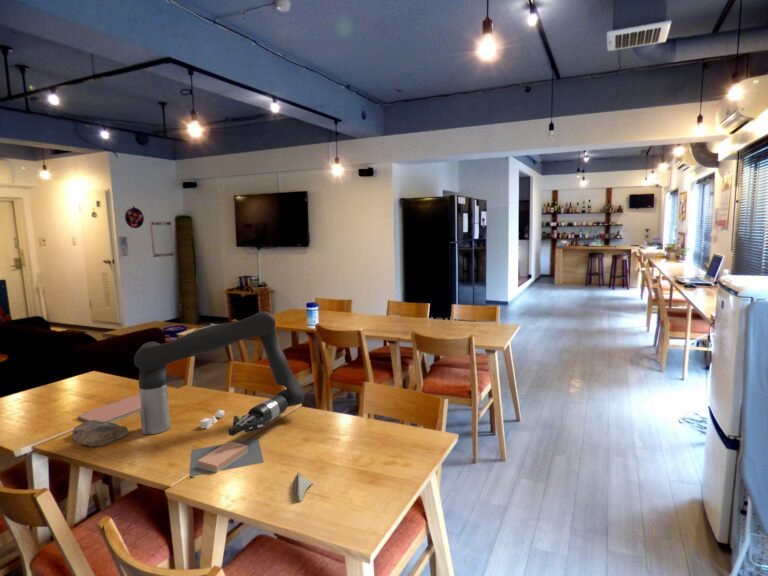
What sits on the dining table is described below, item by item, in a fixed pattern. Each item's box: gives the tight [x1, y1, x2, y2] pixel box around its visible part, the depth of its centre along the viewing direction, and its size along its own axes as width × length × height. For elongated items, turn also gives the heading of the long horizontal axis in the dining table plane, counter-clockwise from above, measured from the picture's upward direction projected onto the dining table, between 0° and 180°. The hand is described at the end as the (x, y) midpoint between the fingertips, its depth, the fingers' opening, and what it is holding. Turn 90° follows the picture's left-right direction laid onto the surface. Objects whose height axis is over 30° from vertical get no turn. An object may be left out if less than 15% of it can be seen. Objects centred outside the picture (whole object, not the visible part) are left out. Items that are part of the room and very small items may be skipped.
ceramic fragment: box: [294, 471, 314, 503], centre depth 133 cm, size 14×5×4 cm, turn 9°
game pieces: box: [199, 409, 226, 430], centre depth 178 cm, size 12×3×3 cm, turn 165°
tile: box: [198, 440, 248, 473], centre depth 148 cm, size 2×8×14 cm
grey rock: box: [71, 420, 129, 447], centre depth 168 cm, size 14×5×20 cm
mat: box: [188, 437, 264, 479], centre depth 151 cm, size 22×18×1 cm
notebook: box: [77, 394, 141, 423], centre depth 191 cm, size 27×17×2 cm, turn 149°
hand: (230, 432), depth 151 cm, fingers closed
